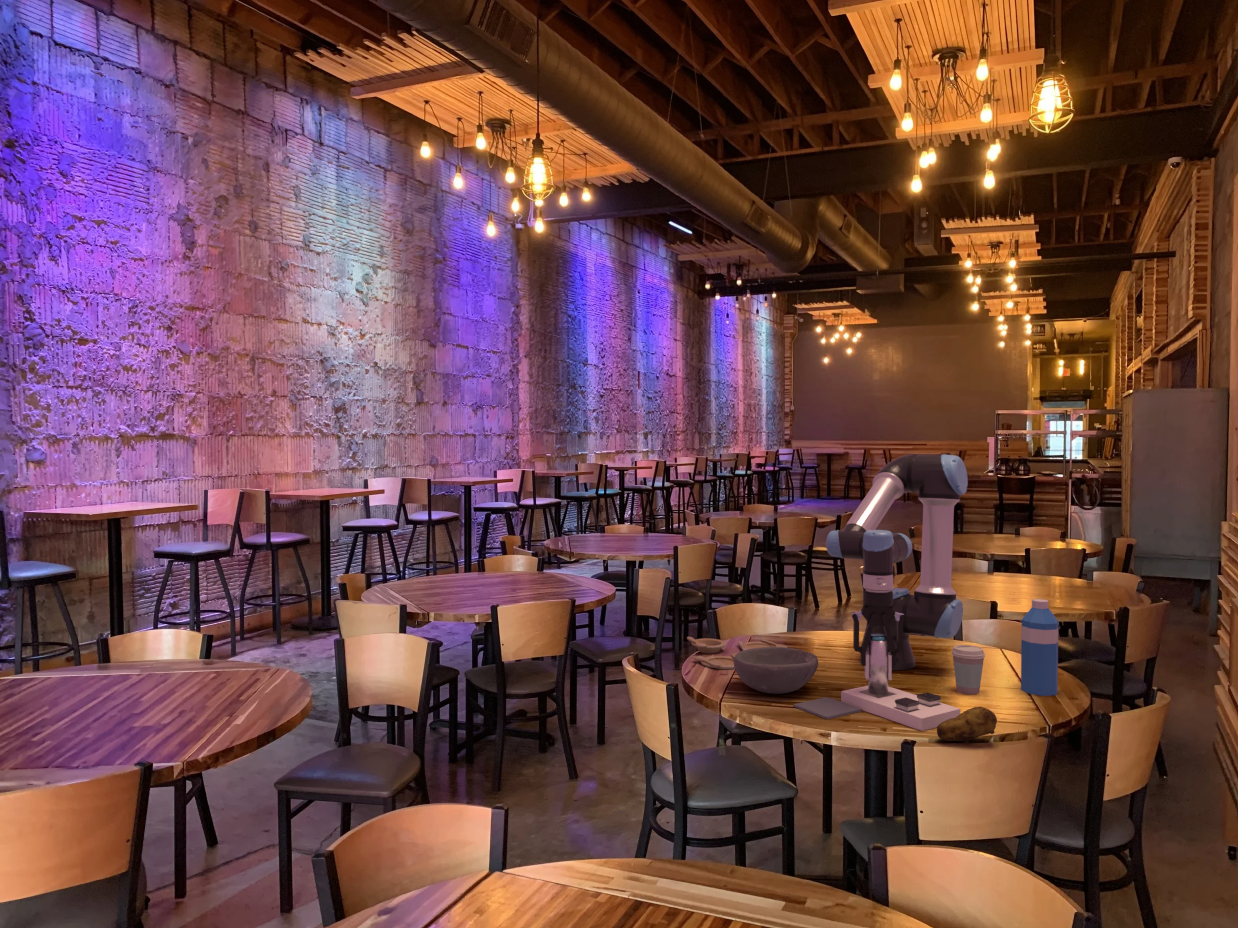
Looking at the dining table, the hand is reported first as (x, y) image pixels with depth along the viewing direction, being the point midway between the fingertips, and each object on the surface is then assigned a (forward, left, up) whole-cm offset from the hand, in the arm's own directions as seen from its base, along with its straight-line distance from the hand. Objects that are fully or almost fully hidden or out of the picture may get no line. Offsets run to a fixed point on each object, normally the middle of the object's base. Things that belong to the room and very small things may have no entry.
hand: (878, 677), depth 225 cm
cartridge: (0, 0, -4) cm, 4 cm away
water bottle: (+15, +47, -7) cm, 50 cm away
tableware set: (-58, +2, -8) cm, 58 cm away
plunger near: (+13, -4, -5) cm, 15 cm away
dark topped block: (+13, +4, -5) cm, 15 cm away
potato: (+30, -4, -7) cm, 31 cm away
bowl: (-24, -14, -7) cm, 29 cm away
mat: (-4, -14, -7) cm, 16 cm away
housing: (+7, 0, -7) cm, 10 cm away
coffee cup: (+5, +30, -7) cm, 31 cm away
